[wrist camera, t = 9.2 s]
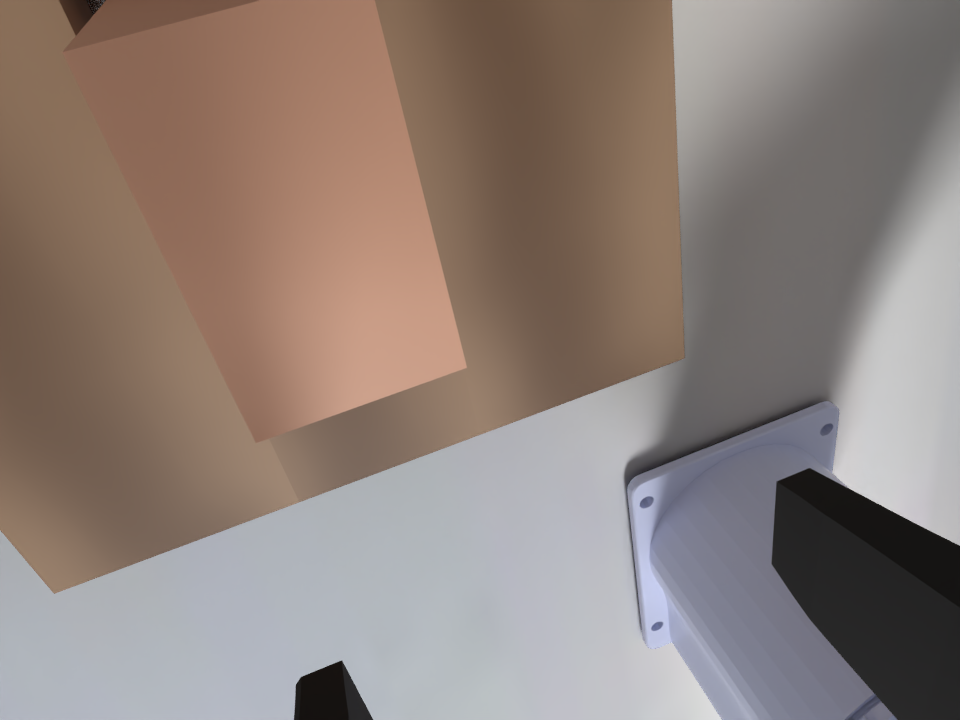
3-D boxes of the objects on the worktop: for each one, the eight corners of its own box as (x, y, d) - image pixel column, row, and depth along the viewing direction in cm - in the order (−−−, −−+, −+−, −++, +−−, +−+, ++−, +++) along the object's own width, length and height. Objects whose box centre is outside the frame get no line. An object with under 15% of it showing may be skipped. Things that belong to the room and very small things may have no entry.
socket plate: (572, -511, 12) (649, -594, 10) (637, 314, 21) (684, 358, 19) (-568, -326, 9) (-775, -387, 7) (68, 518, 19) (53, 593, 17)
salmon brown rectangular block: (285, -63, 14) (367, -28, 7) (360, 186, 17) (467, 367, 10) (124, -22, 13) (62, 52, 7) (230, 226, 16) (256, 442, 10)
